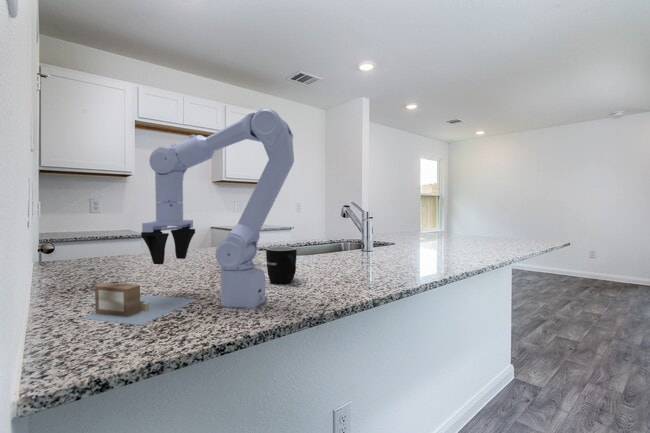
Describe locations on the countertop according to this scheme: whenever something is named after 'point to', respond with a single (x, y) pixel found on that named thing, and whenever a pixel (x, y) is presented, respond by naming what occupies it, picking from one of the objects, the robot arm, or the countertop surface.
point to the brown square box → (117, 299)
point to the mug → (281, 264)
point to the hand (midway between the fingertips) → (170, 261)
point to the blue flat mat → (145, 310)
